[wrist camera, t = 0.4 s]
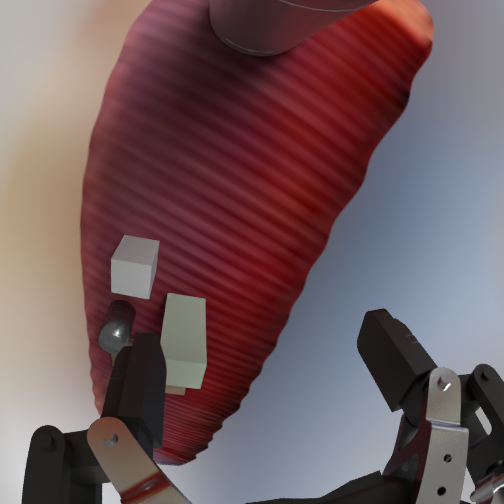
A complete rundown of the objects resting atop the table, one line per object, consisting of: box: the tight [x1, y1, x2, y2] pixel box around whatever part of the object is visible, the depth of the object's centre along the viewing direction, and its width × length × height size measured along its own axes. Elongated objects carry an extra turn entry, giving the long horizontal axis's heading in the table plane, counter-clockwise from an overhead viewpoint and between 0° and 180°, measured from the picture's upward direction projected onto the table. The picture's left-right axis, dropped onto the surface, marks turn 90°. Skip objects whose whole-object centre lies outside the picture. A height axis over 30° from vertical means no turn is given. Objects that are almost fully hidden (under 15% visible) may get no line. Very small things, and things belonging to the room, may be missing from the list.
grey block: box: [111, 235, 160, 299], centre depth 27 cm, size 4×4×5 cm
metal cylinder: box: [98, 300, 136, 355], centre depth 30 cm, size 4×4×6 cm
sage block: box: [160, 293, 207, 389], centre depth 29 cm, size 5×5×10 cm
